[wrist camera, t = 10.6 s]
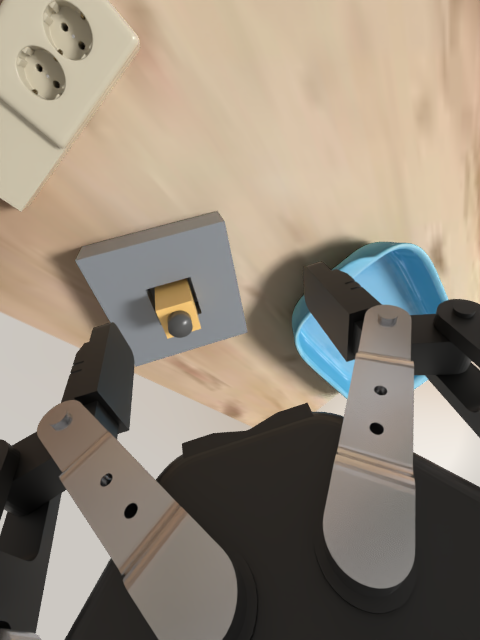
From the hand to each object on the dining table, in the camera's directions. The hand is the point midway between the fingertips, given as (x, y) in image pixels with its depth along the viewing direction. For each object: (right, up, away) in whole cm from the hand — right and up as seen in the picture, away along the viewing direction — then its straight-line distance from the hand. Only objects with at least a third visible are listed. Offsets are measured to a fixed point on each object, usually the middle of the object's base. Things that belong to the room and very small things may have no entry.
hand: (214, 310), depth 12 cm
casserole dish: (+23, 0, +40) cm, 46 cm away
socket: (-8, +4, +27) cm, 28 cm away
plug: (-7, +3, +26) cm, 27 cm away
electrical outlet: (-16, +19, +14) cm, 29 cm away
